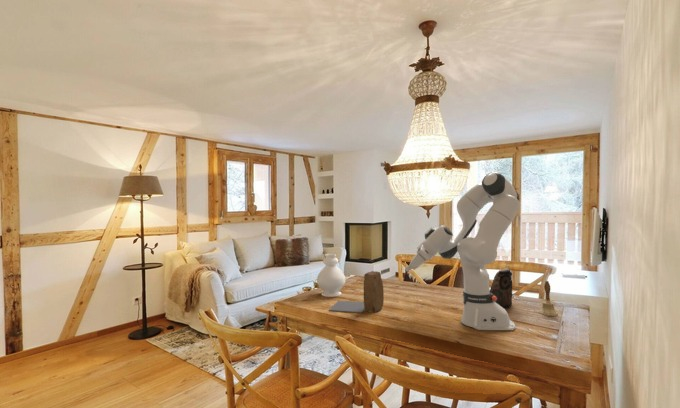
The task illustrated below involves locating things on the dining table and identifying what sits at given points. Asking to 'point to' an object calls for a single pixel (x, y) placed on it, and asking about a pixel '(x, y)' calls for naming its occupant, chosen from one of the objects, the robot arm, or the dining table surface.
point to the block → (373, 292)
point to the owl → (502, 288)
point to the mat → (348, 307)
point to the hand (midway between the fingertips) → (406, 270)
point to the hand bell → (548, 303)
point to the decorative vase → (331, 277)
